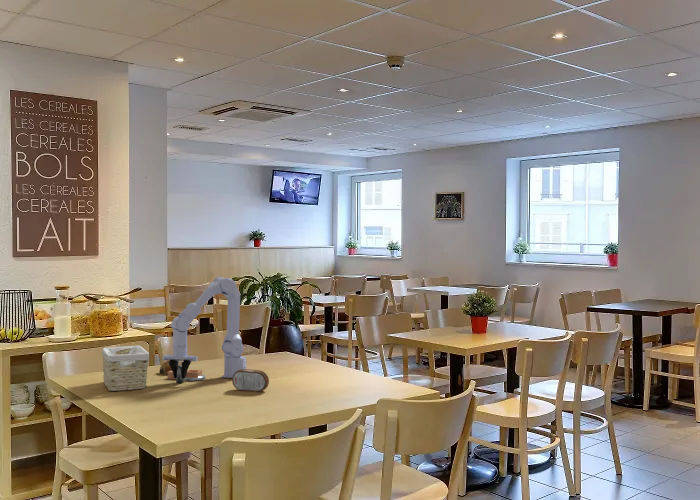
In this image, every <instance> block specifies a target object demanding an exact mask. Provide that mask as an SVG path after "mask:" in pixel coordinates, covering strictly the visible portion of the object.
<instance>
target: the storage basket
mask: <svg viewBox="0 0 700 500" xmlns="http://www.w3.org/2000/svg"><path fill="white" fill-rule="evenodd" d="M101 356H102V372H103V376H102V377H103V384H104V385H105V387H107V389H108V391H110V392H115V391H116V392H118V391H120V392H121V391H127V390H128V391H132V390H139V389H140V390H142V389H145V388H146V387H147V378H148V377H147V375H148V367H149V360H150V352H148V351H147V350H146V349H145V348H144V347H142V345H126V346H125V345H123V346H113V347H112V346H111V347H104V348H102V351H101Z"/></svg>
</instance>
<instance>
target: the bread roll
mask: <svg viewBox="0 0 700 500" xmlns="http://www.w3.org/2000/svg"><path fill="white" fill-rule="evenodd" d="M169 362H170V360H165V361H164V362H163V363H162V364H161V365H160V368H159V373H161V374H162V375H166V376H168V372H169V371H172V369H171V367H170V365H169ZM181 362H182V361H178V365H182V363H181Z"/></svg>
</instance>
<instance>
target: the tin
mask: <svg viewBox="0 0 700 500" xmlns="http://www.w3.org/2000/svg"><path fill="white" fill-rule="evenodd" d="M231 379H232V385H233V387H234V388H235V389H236V390H237V391H240V392H241V391H242V392H243V391H244V392H252V391H258V392H257V393H261V392H263V391H265V390H266V389H268V386H269V383H270V379H269V376H268V374H267V373H266V372H265V371H263V370H260V369H247V368H246V369H240V370H238V371H237V372H235V373H234V375H233V377H232V378H231ZM259 391H260V392H259Z"/></svg>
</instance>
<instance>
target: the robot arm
mask: <svg viewBox="0 0 700 500" xmlns="http://www.w3.org/2000/svg"><path fill="white" fill-rule="evenodd" d="M219 294H222V295H223V296H224V297H226V299H227V311H226V312H227V316H226V335H225V336H224V337H223V343H222V344H221V349H222V352H223V353H224V359H223V362H224V367H223V369H224V370H223V373H224V374H223V375H221V376H220V377H221V378H227V379H229V378H230V379H232V377H233V375H234V373H235V372H237V371H238V370H240V369H247V365H248V364H247V358H246V356H242V354H243V353H244V345H243V340H242V337H241V335H240V312H241V292H240V291H239V288H238V287H237V282H236V281H235V280H233V278H230V277H223V276H218V277H215V278H214V279H213V281H211V282H210V283H209V285H208V286H207V288H206V289H205V290H204V291H203V292H202V294H201V295H200V296H199V297H198V298H197V300H195V302H190V303H189V304H186V305H185V308H184V309H183V311H182V312H180V313H178V314H177V315H178V316H176V317H174V318H173V319H172V320H171V321H172V322H171V323H170V326H171V328H172V329H173V330H172V333H173V334H172V355H170V354H169V355H168V354H167V355H162V361H164V362H166V361H168V360H170V362H169V365H170V367H171V369H172V371H173V375H174V378H176V366H178V361H180V362H181V363H182V379H184V378H186V373H187V371H188V370H189V368H190V365H191V364H192V362H198V358H199V357H198V356H197V355H188V330H189V328H190V326H191V323H192V322H193V321H194V319H196V318H197V317H198V315H199V314H201V312H202V310H201V309H202V307H203V306H204V305H205V304H206V303H207V302H208V301H209V300H211V298H212V297H213V296H216V295H219Z"/></svg>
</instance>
